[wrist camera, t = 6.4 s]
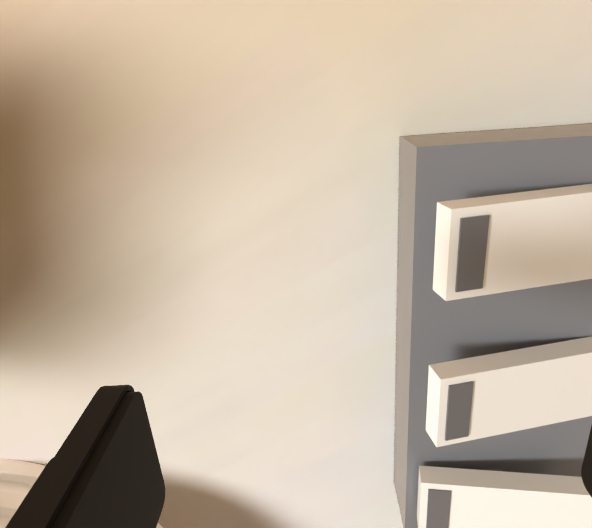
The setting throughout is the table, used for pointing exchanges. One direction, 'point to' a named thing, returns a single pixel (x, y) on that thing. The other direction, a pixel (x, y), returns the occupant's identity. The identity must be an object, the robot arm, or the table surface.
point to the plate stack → (17, 486)
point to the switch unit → (480, 298)
